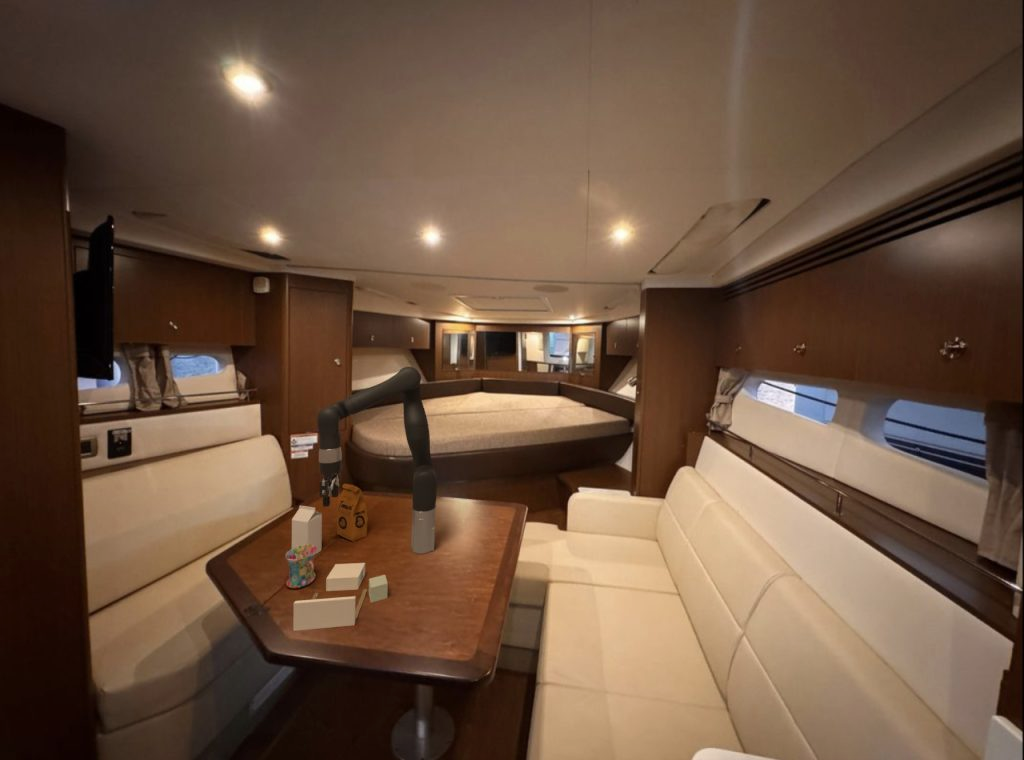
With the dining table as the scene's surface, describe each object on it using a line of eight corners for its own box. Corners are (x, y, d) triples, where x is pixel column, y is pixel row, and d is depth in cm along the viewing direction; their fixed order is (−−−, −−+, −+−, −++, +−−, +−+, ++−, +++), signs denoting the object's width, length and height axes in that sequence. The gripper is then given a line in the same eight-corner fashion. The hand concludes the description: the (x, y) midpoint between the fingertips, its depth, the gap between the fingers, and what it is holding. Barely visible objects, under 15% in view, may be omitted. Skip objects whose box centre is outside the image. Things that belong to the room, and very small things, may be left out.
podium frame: (366, 591, 110) (366, 588, 110) (355, 621, 97) (355, 618, 97) (314, 595, 107) (314, 592, 107) (295, 626, 95) (295, 624, 95)
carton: (365, 575, 119) (365, 562, 119) (358, 590, 111) (358, 577, 111) (335, 576, 117) (335, 564, 117) (325, 591, 110) (326, 578, 109)
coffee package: (349, 545, 137) (350, 492, 136) (333, 535, 144) (334, 485, 143) (371, 535, 145) (372, 486, 144) (354, 526, 152) (355, 479, 151)
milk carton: (307, 561, 125) (307, 511, 124) (291, 558, 127) (291, 509, 126) (321, 550, 132) (322, 504, 131) (306, 548, 133) (306, 501, 133)
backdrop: (355, 622, 97) (355, 596, 97) (354, 625, 96) (354, 598, 96) (295, 628, 94) (295, 600, 94) (293, 630, 93) (293, 603, 93)
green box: (384, 588, 112) (385, 574, 112) (387, 598, 108) (387, 583, 107) (368, 593, 109) (369, 578, 109) (370, 603, 105) (371, 587, 105)
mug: (279, 584, 112) (279, 553, 111) (308, 570, 120) (308, 541, 119) (297, 598, 106) (297, 566, 105) (326, 582, 114) (327, 552, 113)
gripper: (334, 464, 118) (334, 509, 119) (347, 453, 132) (347, 493, 133) (311, 465, 117) (312, 510, 118) (327, 454, 131) (327, 494, 132)
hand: (330, 501), depth 125 cm, fingers open, 8 cm apart
